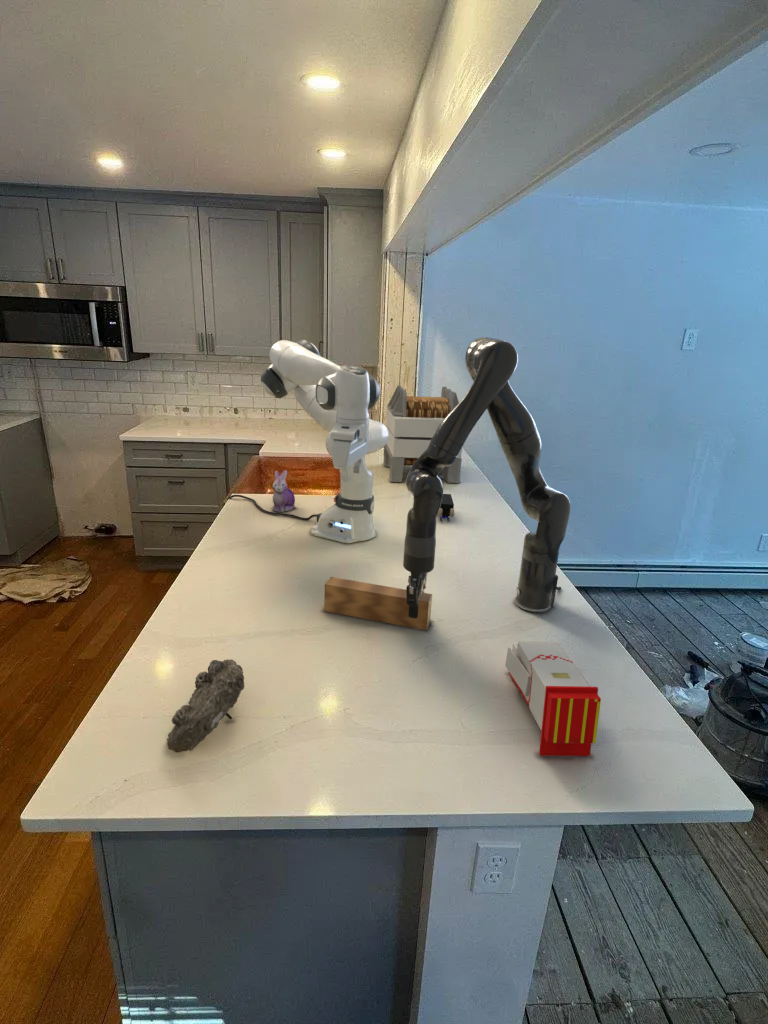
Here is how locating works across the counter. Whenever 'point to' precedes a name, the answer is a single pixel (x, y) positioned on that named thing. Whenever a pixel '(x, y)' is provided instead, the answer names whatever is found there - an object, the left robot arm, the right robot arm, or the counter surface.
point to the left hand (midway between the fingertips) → (351, 477)
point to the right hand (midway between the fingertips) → (415, 611)
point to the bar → (375, 603)
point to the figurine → (282, 493)
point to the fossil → (206, 705)
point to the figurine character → (446, 507)
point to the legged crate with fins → (416, 430)
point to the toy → (556, 697)
